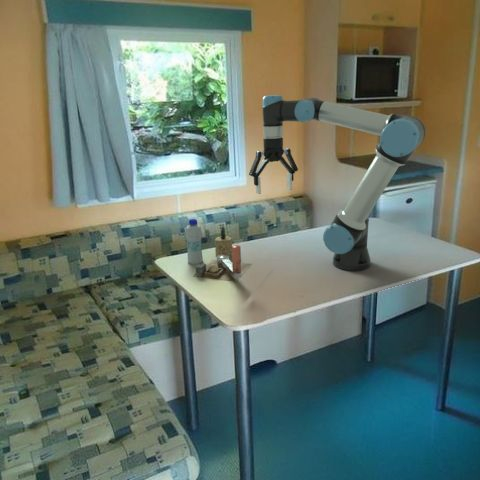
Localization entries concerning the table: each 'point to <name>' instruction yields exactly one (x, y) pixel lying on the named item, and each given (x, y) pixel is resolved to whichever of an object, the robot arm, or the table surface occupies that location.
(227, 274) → the square wooden tray
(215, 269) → the nut
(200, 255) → the bottle
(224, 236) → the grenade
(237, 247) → the lever
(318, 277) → the table surface
